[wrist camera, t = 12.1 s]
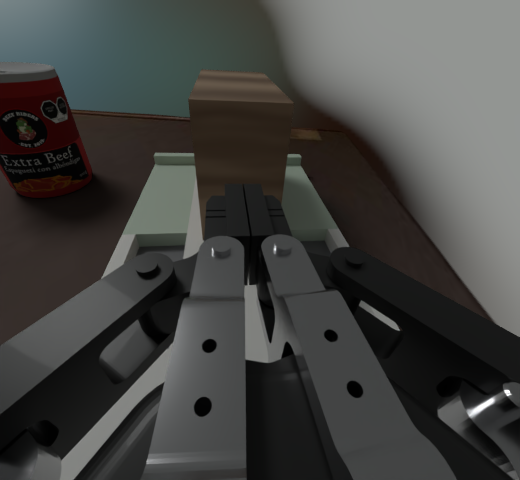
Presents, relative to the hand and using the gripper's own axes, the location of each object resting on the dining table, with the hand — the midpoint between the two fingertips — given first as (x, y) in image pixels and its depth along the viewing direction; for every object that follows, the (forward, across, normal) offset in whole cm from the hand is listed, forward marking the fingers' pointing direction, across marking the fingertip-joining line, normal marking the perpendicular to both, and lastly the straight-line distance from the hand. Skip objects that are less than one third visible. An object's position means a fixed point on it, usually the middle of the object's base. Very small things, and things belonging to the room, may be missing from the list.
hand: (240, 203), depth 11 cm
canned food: (+20, +19, +9) cm, 29 cm away
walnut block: (+14, -1, +7) cm, 15 cm away
